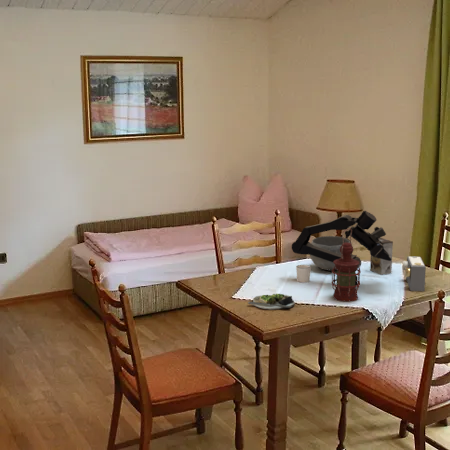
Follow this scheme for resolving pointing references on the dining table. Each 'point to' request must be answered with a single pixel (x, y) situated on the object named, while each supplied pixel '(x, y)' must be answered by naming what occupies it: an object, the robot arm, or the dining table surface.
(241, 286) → the dining table surface
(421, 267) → the console
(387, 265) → the coffee box
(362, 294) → the dining table surface
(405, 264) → the cream button
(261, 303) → the salad plate
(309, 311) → the dining table surface
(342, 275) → the lantern
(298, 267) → the white cup
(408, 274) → the brass button
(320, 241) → the bowl
